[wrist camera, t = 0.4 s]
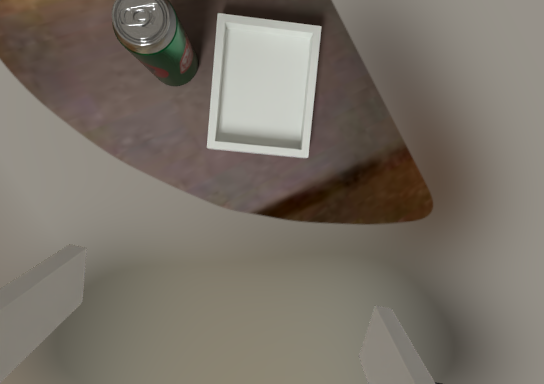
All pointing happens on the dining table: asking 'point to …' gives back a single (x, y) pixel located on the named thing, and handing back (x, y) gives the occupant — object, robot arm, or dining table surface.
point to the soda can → (155, 39)
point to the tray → (263, 86)
